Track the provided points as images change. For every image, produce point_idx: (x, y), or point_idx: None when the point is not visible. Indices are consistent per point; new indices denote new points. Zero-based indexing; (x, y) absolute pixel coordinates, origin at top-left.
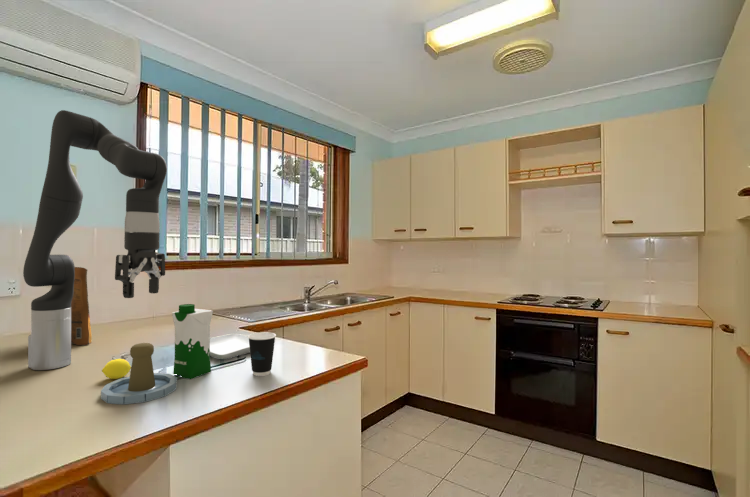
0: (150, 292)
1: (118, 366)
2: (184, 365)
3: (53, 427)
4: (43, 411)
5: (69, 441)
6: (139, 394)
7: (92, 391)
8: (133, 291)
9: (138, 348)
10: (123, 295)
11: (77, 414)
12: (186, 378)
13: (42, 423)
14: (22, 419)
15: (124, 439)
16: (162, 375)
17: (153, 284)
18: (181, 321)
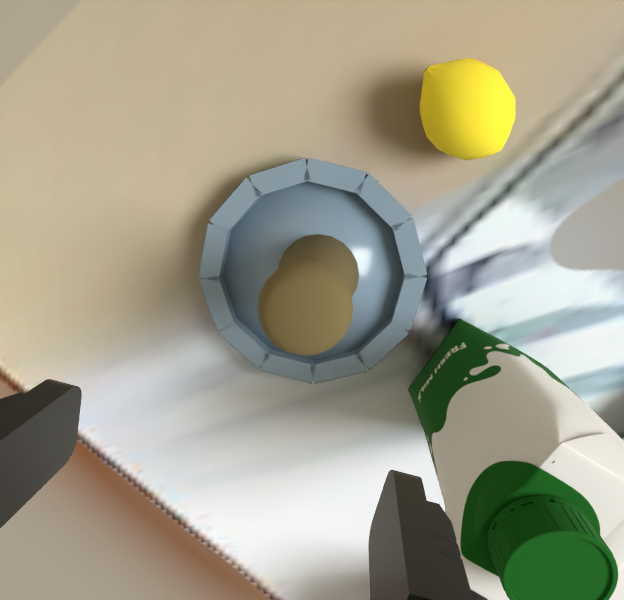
0: (388, 481)
1: (436, 132)
2: (419, 390)
3: (62, 167)
4: (156, 55)
5: (2, 256)
6: (216, 316)
7: (318, 106)
8: (29, 492)
9: (261, 316)
10: (17, 395)
11: (139, 178)
12: (419, 374)
13: (82, 117)
14: (102, 34)
15: (22, 370)
16: (393, 314)
17: (382, 584)
18: (473, 485)
